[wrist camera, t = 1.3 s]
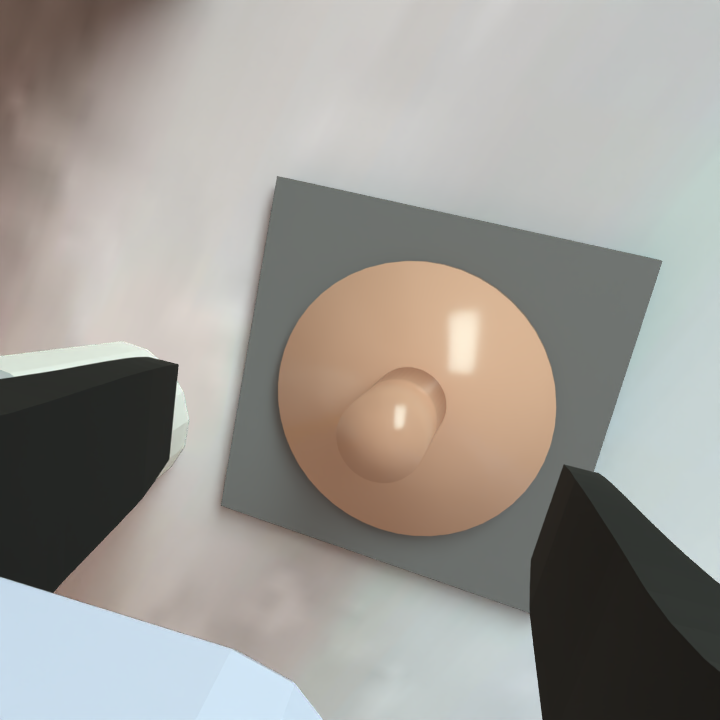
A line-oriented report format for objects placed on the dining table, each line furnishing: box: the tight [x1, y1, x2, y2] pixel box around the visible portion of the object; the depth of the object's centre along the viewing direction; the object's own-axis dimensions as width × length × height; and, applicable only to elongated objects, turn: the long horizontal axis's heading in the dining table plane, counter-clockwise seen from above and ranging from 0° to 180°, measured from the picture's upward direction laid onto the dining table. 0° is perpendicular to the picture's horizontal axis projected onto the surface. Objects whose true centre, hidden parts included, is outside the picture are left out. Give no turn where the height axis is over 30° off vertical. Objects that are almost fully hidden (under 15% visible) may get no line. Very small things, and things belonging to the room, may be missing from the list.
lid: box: [278, 261, 556, 536], centre depth 19 cm, size 9×9×4 cm
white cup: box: [0, 341, 189, 478], centre depth 22 cm, size 7×7×7 cm
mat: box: [221, 176, 662, 613], centre depth 22 cm, size 12×12×1 cm
